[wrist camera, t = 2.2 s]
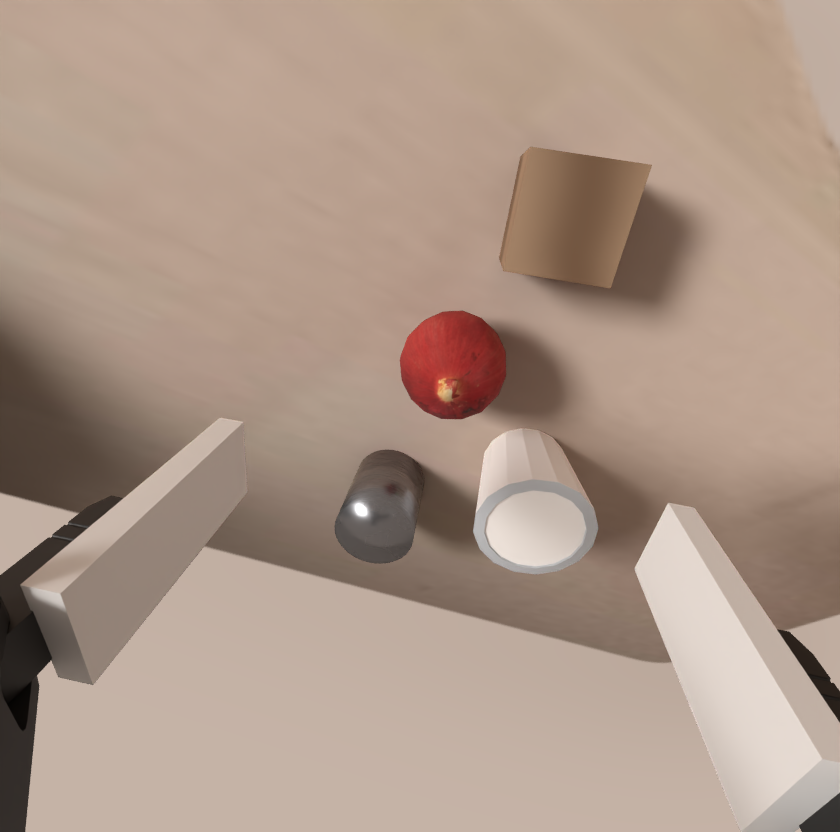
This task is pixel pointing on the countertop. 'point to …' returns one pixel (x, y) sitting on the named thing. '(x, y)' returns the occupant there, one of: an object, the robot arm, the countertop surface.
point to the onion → (453, 365)
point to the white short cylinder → (532, 505)
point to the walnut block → (571, 216)
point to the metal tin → (381, 508)
